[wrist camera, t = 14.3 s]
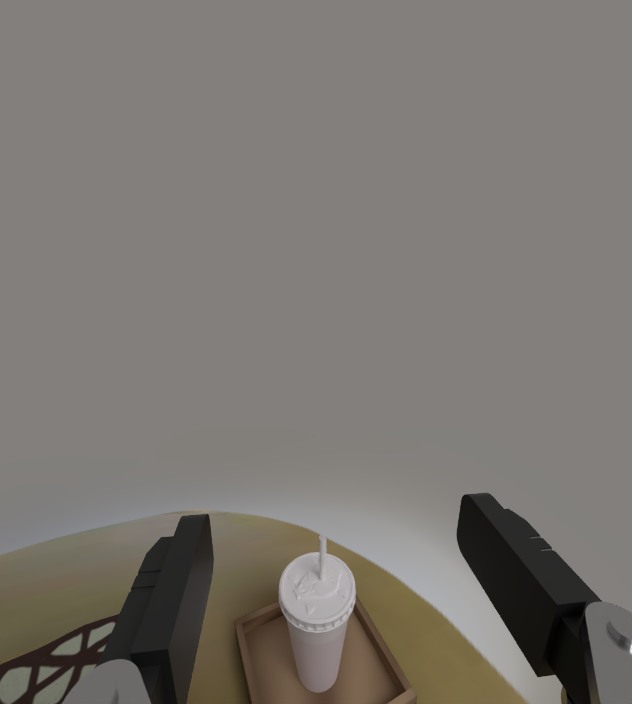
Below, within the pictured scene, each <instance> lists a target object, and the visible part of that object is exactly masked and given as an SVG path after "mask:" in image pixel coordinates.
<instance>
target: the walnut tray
mask: <svg viewBox="0 0 632 704" xmlns="http://www.w3.org/2000/svg"><path fill="white" fill-rule="evenodd" d="M234 621H235V631H236V638H237V643H238V648H239V652H240V657H241V662H242V667H243V671H244V676H245V681H246V686H247V691H248V695H249V700H250V704H416V700H417V695H416V693H415V691H414V690H413V688H412V686H411V685H410V683H409V681H408V680H407V678H406V676H405V675H404V673H403V671H402V670H401V668H400V666H399V665H398V663H397V661H396V660H395V658H394V656H393V655H392V653H391V651H390V650H389V648H388V646H387V645H386V643H385V641H384V640H383V638H382V636H381V635H380V633H379V631H378V630H377V628H376V626H375V625H374V623H373V622H372V620H371V618H370V617H369V615H368V613H367V612H366V610H365V608H364V607H363V605H362V603H361V602H360V600H359V598H358V597H357V595H356V596H355V604H354V608H353V611H352V613H351V614H350V616H349V618H348V623H347V628H346V633H345V638H344V644H343V649H342V654H341V660H340V665H339V670H338V675H337V678H336V681H335V683H334V684H333V685H332V687H331V688H329V689H328V690H326V691H324V692H320V693H316V692H312V691H309V690H308V689H306V688H305V687H304V686H303V684H302V683H301V681H300V679H299V676H298V672H297V667H296V662H295V657H294V652H293V648H292V643H291V638H290V633H289V628H288V623H287V619H286V617H285V616H284V614H283V612H282V610H281V607H280V604H279V601H277V602H275V603H273V604H270V605H268V606H266V607H264V608H261V609H259V610H257V611H254V612H252V613H250V614H248V615H245V616H243V617H241V618H239V619H236V620H234Z"/></svg>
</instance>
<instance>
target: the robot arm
mask: <svg viewBox="0 0 632 704" xmlns="http://www.w3.org/2000/svg"><path fill="white" fill-rule="evenodd" d="M457 541H458V545H459V549H460V551H461V553H462V555H463V557H464V558H465V560H466V561H467V563H468V565H469V567H470V568H471V570H472V571H473V573H474V575H475V576H476V578H477V580H478V581H479V583H480V584H481V586H482V588H483V589H484V591H485V592H486V594H487V596H488V597H489V599H490V601H491V602H492V604H493V605H494V607H495V609H496V610H497V612H498V613H499V615H500V617H501V618H502V620H503V622H504V623H505V625H506V627H507V628H508V630H509V631H510V633H511V635H512V636H513V638H514V639H515V641H516V643H517V644H518V646H519V648H520V649H521V651H522V652H523V654H524V656H525V657H526V659H527V661H528V662H529V664H530V665H531V667H532V669H533V670H534V672H535V674H536V675H537V677H542V676H549V675H556V676H557V678H558V679H559V681H560V682H561V684H562V685H563V687H562V691H561V702H562V704H632V613H631V612H629V611H627V610H626V609H624V608H621V607H619V606H617V605H614V604H611V603H606V602H602V601H601V600H600V599H599V598H598V596H597V595H596V594H595V593H594V592H593V591H592V590H591V589H590V588H589V587H588V586H587V585H586V584H585V583H584V582H583V581H582V579H581V578H580V577H579V576H578V575H577V574H576V573H575V572H574V571H573V570H572V569H571V568H570V567H569V566H568V565H567V563H565V562H564V561H563V559H562V558H561V557H560V556H559V555H558V554H557V553H556V552H555V551H552V548H551V546H550V545H549V544H548V543H547V542H546V541H545V540H544V539H543V538H541V537H540V535H539V534H538V533H537V532H536V531H535V529H534V528H533V527H532V526H531V525H530V524H529V523H528V522H527V521H526V520H525V519H523V518H522V517H520V516H519V515H517V514H516V513H514V512H513V511H511V510H509V509H504V508H503V507H502V506H501V505H500V504H499V503H498V502H497V501H496V499H495V498H494V497H493V496H492V495H491V494H489V493H478V494H467V495H464V496H463V497H462V500H461V506H460V513H459V520H458V527H457ZM213 561H214V557H213V546H212V537H211V527H210V519H209V515H208V514H202V515H189V516H182V517H181V518H180V521H179V523H178V526H177V529H176V531H175V534H174V536H172V537H161V538H160V539H159V540H158V541H157V542H156V544H155V545H154V546H153V547H152V548H151V549H150V550H149V551H148V553H147V554H146V556H145V558H144V560H143V563H142V565H141V567H140V569H139V572H138V576H136V578H135V581H134V583H133V585H132V587H131V592H129V594H128V596H127V599H126V601H125V603H124V605H123V608H122V610H121V612H120V615H119V617H118V619H117V621H116V624H115V626H114V628H113V630H112V633H111V635H110V637H109V639H108V642H107V644H106V646H105V648H104V651H103V653H102V655H101V657H100V659H99V661H98V663H97V665H96V666H95V668H94V669H93V670H91V671H90V672H89V673H87V674H86V675H85V676H84V677H83V678H81V679H80V680H79V681H78V682H77V683H76V685H75V686H74V687H73V688H72V689H71V691H70V692H69V693H68V695H67V696H66V697H65V699H64V700H63V701H62V702H60V703H59V704H186V701H187V696H188V692H189V687H190V682H191V677H192V672H193V667H194V663H195V658H196V653H197V648H198V643H199V638H200V633H201V629H202V624H203V619H204V614H205V609H206V604H207V600H208V595H209V590H210V585H211V580H212V574H213Z"/></svg>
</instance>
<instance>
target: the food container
mask: <svg viewBox="0 0 632 704" xmlns="http://www.w3.org/2000/svg"><path fill="white" fill-rule="evenodd" d="M119 615H120V614H118V615H115V616H112V617H108V618H105V619H102V620H99V621H96V622H93V623H90V624H87V625H84V626H82V627H80V628H78V629H76V630H74V631H72V632H70V633H68V634H66V635H64V636H62V637H60V638H59V639H57V640H55V641H53V642H51V643H49V644H47V645H45V646H43V647H41V648H39V649H37V650H34V651H32V652H30V653H27V654H25V655H22V656H20V657H18V658H15V659H13V660H11V661H8V662H6V663H3V664H1V665H0V704H59V703H60V702H62V701H63V700H64V699H65V697H66V696H67V695H68V693H69V692H70V691H71V689H72V688H73V687H74V686H75V685H76V683H77V682H78V681H79V680H80V679H81V678H83V677H84V676H85V675H86V674H87V673H89V672H90V671H91V670H93V669H94V668H95V666H96V665H97V663H98V661H99V659H100V657H101V655H102V653H103V651H104V648H105V646H106V644H107V642H108V639H109V637H110V635H111V633H112V630H113V628H114V626H115V624H116V621H117V619H118V617H119Z"/></svg>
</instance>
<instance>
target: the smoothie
mask: <svg viewBox="0 0 632 704" xmlns="http://www.w3.org/2000/svg"><path fill="white" fill-rule="evenodd" d="M355 596H356V591H355V581H354V577H353V575H352V572H351V571H350V569H349V568H348V566H347V565H346V564H345V563H344V562H343V561H342V560H340V559H339V558H337V557H335V556H333V555H331V554H327V553H326V536H325V535H321V536H320V537H319V552H312V553H307V554H304V555H301V556H299V557H297V558H296V559H294V560H293V561H292V562H291V563H289V565H288V566H287V567H286V568H285V570H284V571H283V573H282V576H281V578H280V583H279V604H280V607H281V610H282V612H283V614H284V616H285V617H286V619H287V623H288V628H289V633H290V638H291V643H292V648H293V652H294V657H295V662H296V667H297V672H298V676H299V679H300V681H301V683H302V684H303V686H304V687H305V688H306V689H308V690H309V691H312V692H316V693H320V692H324V691H326V690H328V689H329V688H331V687H332V685H333V684H334V683H335V681H336V678H337V675H338V670H339V665H340V660H341V654H342V649H343V644H344V638H345V633H346V628H347V623H348V618H349V616H350V614H351V613H352V611H353V608H354V604H355Z"/></svg>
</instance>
